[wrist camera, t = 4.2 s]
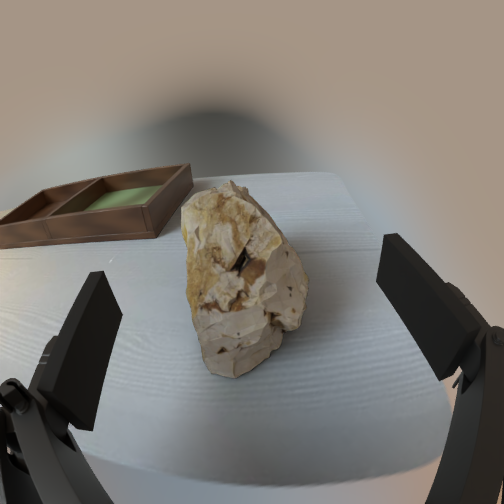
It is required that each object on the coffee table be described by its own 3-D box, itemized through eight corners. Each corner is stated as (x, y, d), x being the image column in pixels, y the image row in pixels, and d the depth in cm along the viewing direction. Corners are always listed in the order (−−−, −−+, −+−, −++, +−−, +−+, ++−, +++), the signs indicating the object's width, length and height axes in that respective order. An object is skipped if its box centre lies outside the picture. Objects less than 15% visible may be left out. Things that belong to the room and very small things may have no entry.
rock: (331, 372, 13) (293, 162, 11) (205, 395, 14) (138, 203, 12) (299, 288, 25) (274, 173, 23) (226, 304, 26) (196, 192, 23)
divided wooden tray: (193, 186, 44) (190, 162, 42) (156, 238, 30) (147, 205, 28) (47, 206, 48) (42, 189, 46) (-5, 249, 34) (-13, 229, 32)
